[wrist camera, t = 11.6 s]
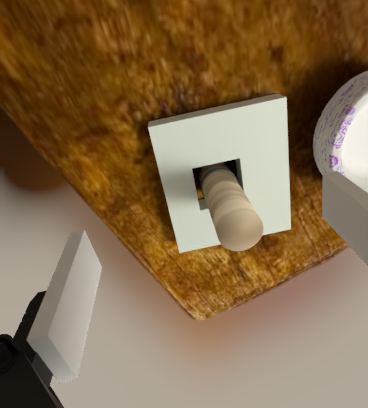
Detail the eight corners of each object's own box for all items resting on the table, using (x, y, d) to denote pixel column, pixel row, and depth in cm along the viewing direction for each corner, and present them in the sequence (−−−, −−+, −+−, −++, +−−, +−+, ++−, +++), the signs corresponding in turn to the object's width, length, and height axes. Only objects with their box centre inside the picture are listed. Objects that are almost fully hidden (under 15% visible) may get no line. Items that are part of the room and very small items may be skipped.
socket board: (148, 121, 37) (147, 127, 34) (277, 93, 37) (286, 96, 34) (178, 240, 45) (179, 252, 43) (282, 218, 45) (290, 229, 42)
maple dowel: (195, 164, 40) (212, 216, 27) (229, 156, 40) (262, 205, 27) (201, 195, 42) (220, 255, 30) (233, 188, 42) (266, 246, 30)
